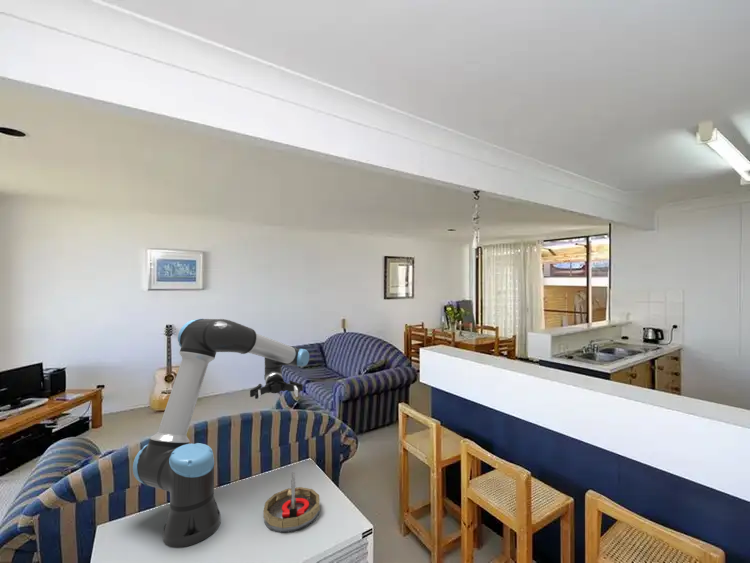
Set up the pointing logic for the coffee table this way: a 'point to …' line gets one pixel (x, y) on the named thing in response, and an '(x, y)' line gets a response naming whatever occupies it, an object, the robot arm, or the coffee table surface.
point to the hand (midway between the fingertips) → (278, 395)
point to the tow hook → (294, 503)
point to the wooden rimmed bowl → (275, 509)
